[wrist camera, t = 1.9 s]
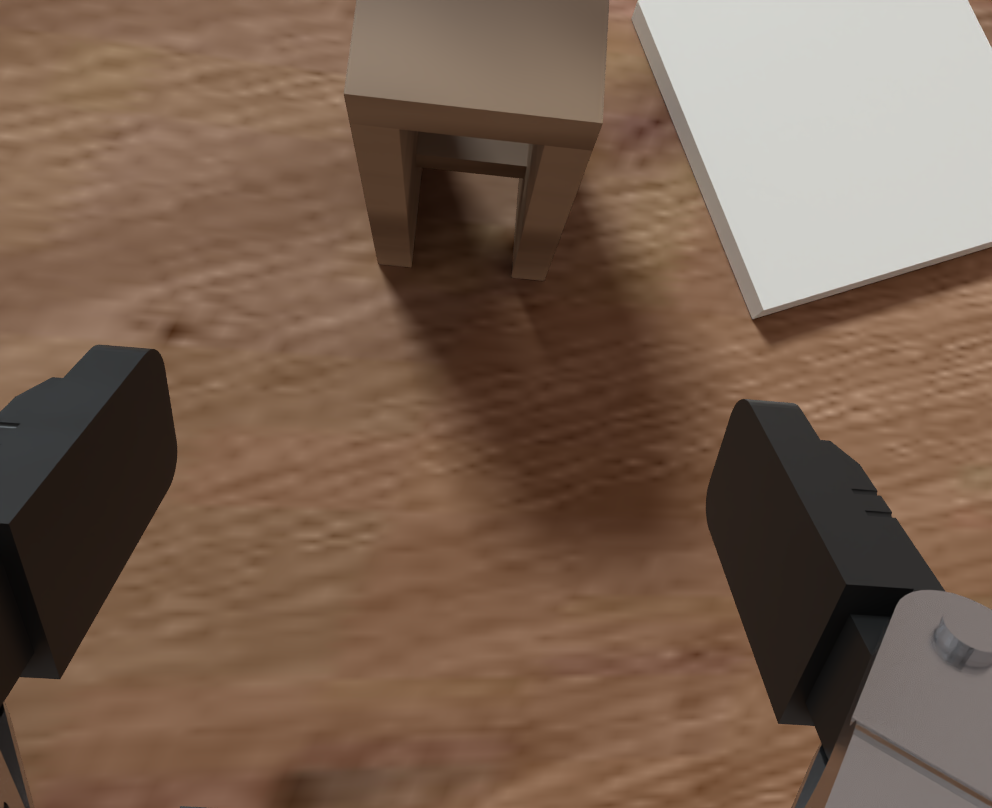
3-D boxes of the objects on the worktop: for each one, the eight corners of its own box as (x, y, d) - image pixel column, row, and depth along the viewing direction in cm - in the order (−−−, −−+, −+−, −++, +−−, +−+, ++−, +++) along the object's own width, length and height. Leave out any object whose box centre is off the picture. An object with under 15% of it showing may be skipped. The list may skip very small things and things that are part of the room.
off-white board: (752, 319, 28) (763, 310, 27) (631, 18, 30) (637, 0, 29) (1054, 228, 29) (1075, 216, 28) (918, -50, 32) (933, -69, 31)
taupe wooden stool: (544, 280, 27) (602, 123, 18) (378, 263, 27) (343, 93, 17) (554, 132, 29) (613, -92, 19) (395, 114, 28) (373, -123, 19)
